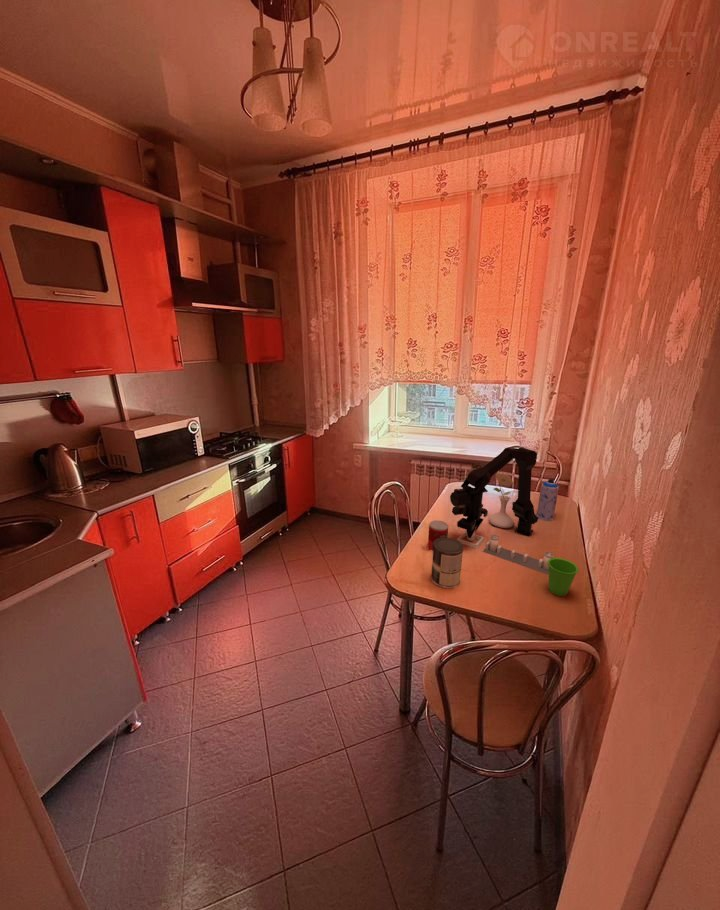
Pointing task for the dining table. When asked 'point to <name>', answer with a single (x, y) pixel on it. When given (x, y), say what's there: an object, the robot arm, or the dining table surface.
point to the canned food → (436, 532)
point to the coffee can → (447, 562)
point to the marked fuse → (472, 536)
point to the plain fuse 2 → (546, 557)
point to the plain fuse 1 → (494, 543)
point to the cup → (561, 575)
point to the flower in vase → (502, 504)
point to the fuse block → (517, 558)
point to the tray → (470, 542)
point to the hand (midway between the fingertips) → (471, 536)
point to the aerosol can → (547, 500)
